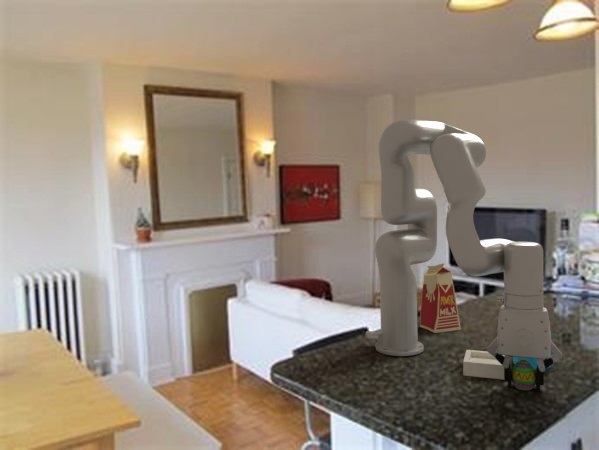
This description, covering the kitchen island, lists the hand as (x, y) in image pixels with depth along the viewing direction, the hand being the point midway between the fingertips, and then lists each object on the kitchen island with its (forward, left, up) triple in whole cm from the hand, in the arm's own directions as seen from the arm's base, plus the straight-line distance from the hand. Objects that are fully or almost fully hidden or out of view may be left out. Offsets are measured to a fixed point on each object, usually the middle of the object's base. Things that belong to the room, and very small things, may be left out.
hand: (523, 385), depth 109 cm
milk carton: (-23, +42, -1) cm, 48 cm away
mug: (+2, +18, -1) cm, 18 cm away
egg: (0, 0, -1) cm, 1 cm away
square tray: (-8, +8, 0) cm, 11 cm away
